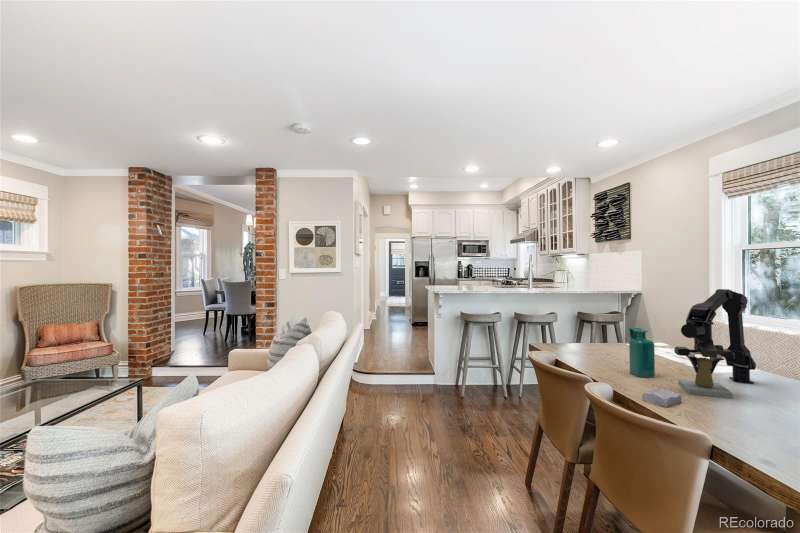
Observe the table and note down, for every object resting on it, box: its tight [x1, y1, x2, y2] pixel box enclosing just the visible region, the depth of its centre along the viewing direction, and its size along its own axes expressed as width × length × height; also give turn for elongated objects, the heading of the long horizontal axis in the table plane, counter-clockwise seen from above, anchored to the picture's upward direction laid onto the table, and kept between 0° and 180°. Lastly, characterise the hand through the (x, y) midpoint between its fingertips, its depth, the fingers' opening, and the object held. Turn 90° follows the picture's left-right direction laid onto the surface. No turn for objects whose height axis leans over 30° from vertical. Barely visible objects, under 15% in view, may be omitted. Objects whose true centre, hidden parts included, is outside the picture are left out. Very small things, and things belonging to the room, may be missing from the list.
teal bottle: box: [628, 327, 656, 378], centre depth 175 cm, size 10×8×22 cm
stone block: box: [641, 389, 682, 408], centre depth 141 cm, size 12×5×10 cm
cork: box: [694, 357, 714, 387], centre depth 151 cm, size 6×6×11 cm
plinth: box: [678, 379, 734, 399], centre depth 151 cm, size 14×14×2 cm
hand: (703, 373), depth 151 cm, fingers open, 5 cm apart
